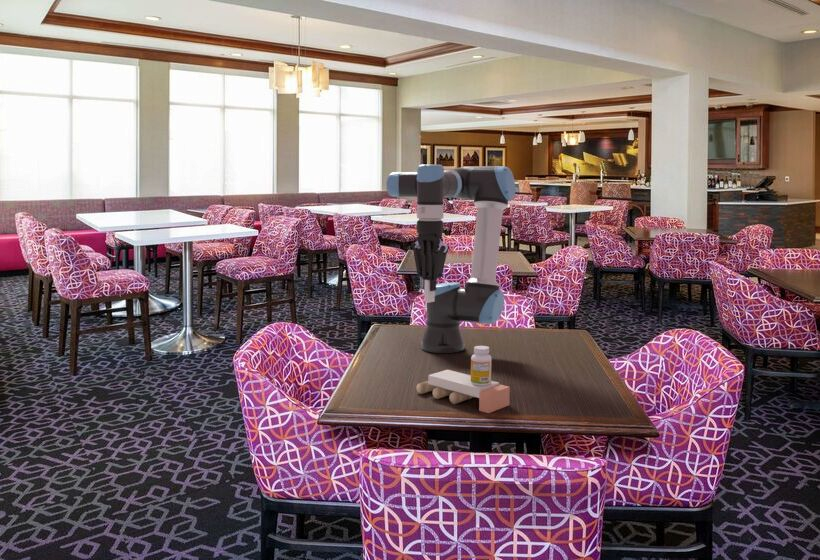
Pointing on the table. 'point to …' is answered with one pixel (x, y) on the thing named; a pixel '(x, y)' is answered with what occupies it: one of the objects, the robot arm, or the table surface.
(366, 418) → the table surface
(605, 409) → the table surface
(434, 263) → the robot arm
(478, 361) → the supplement bottle
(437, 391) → the roller bed
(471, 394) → the slab
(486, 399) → the block
